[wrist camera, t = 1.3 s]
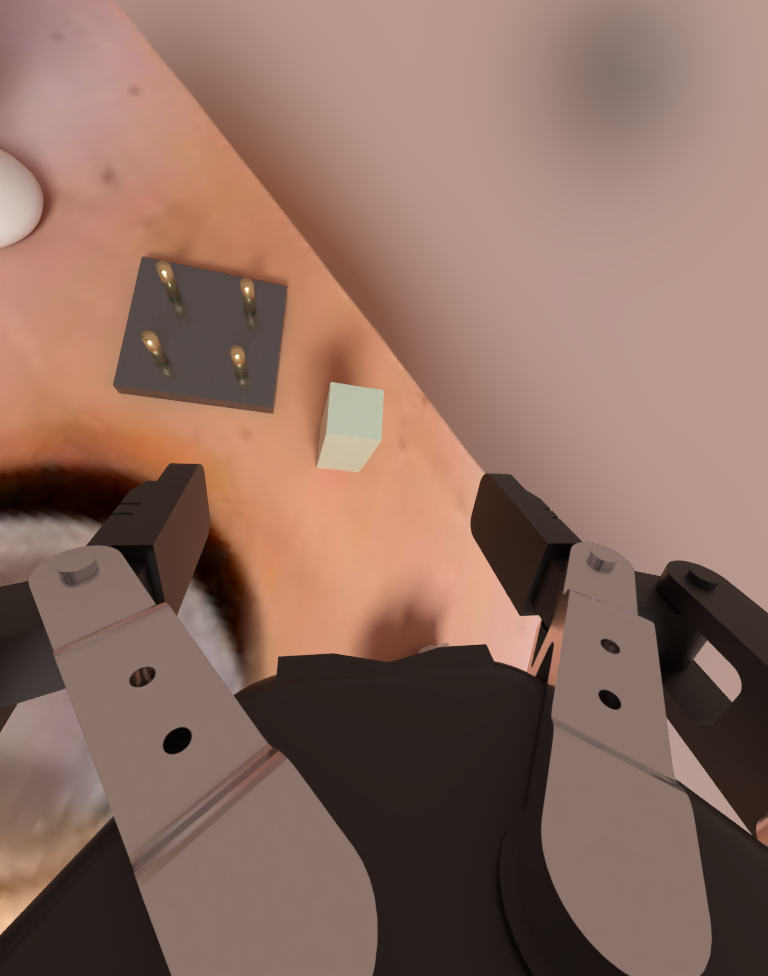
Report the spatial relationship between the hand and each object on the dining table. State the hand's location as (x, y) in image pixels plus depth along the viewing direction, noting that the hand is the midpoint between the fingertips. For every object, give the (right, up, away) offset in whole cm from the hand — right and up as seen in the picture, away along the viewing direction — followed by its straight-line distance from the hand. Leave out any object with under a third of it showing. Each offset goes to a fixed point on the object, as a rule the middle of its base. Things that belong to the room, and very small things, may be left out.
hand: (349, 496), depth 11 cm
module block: (-4, +4, +29) cm, 30 cm away
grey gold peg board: (-17, +15, +29) cm, 36 cm away
